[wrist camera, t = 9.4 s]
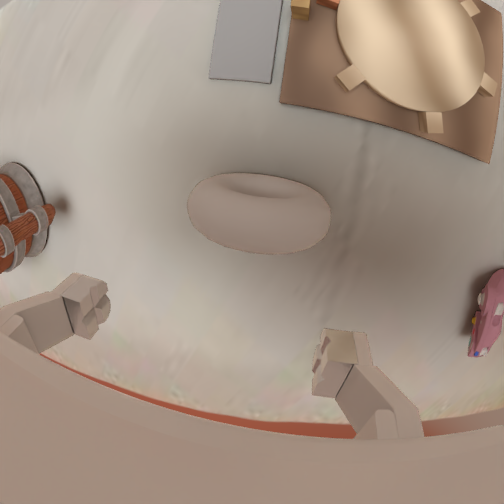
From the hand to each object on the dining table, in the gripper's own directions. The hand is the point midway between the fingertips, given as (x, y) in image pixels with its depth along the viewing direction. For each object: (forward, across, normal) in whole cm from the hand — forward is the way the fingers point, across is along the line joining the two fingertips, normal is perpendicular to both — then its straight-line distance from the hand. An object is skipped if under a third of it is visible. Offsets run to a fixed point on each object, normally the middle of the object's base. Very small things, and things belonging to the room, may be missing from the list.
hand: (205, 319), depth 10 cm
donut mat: (+17, +3, -16) cm, 23 cm away
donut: (+17, 0, 0) cm, 17 cm away
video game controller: (+17, -27, +7) cm, 33 cm away
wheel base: (+16, -10, -16) cm, 25 cm away
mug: (+17, +31, +6) cm, 36 cm away
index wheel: (+15, -10, -16) cm, 24 cm away
